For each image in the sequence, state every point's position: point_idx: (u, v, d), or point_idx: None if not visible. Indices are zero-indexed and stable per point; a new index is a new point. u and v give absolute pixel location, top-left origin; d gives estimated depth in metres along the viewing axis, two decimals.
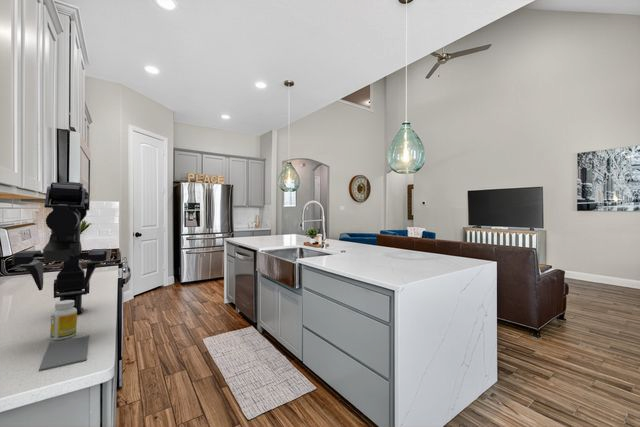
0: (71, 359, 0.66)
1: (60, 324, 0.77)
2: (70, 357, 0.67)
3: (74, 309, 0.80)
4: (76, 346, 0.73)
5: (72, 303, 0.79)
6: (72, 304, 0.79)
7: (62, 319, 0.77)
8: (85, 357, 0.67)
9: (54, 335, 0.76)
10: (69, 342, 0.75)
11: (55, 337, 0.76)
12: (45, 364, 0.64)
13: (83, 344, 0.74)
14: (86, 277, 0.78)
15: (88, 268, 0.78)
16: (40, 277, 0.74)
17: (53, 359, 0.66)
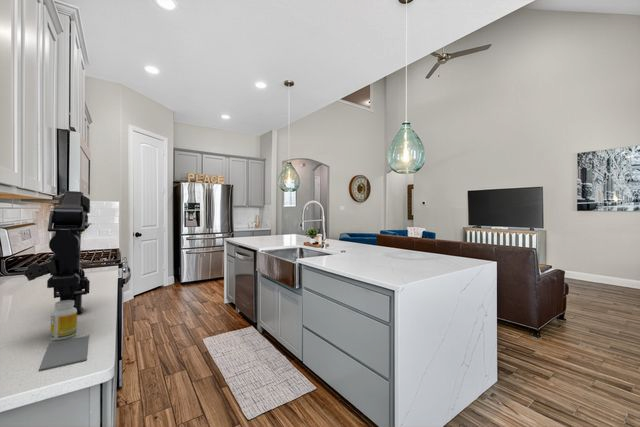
0: (71, 359, 0.66)
1: (60, 324, 0.77)
2: (70, 357, 0.67)
3: (74, 309, 0.80)
4: (76, 346, 0.73)
5: (72, 303, 0.79)
6: (72, 304, 0.79)
7: (62, 319, 0.77)
8: (85, 357, 0.67)
9: (54, 335, 0.76)
10: (69, 342, 0.75)
11: (55, 337, 0.76)
12: (45, 364, 0.64)
13: (83, 344, 0.74)
14: (60, 297, 0.81)
15: (58, 288, 0.80)
16: None
17: (53, 359, 0.66)
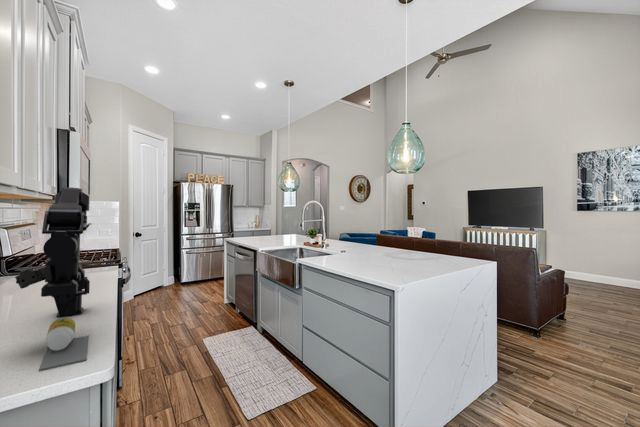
0: (71, 359, 0.66)
1: None
2: (70, 357, 0.67)
3: (71, 339, 0.72)
4: (76, 346, 0.73)
5: None
6: (68, 343, 0.71)
7: None
8: (85, 357, 0.67)
9: None
10: None
11: None
12: (45, 364, 0.64)
13: (83, 344, 0.74)
14: None
15: None
16: None
17: (53, 359, 0.66)
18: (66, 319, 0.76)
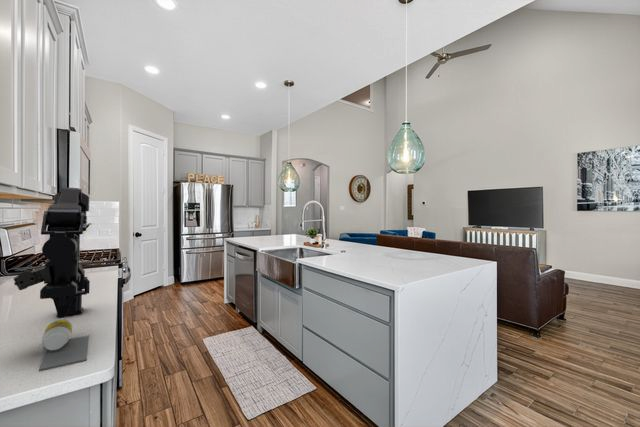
0: (71, 359, 0.66)
1: None
2: (70, 357, 0.67)
3: (68, 337, 0.72)
4: (76, 346, 0.73)
5: (65, 341, 0.71)
6: (66, 341, 0.71)
7: None
8: (85, 357, 0.67)
9: None
10: (69, 342, 0.75)
11: None
12: (45, 364, 0.64)
13: (83, 344, 0.74)
14: (56, 307, 0.72)
15: (53, 298, 0.71)
16: None
17: (53, 359, 0.66)
18: (59, 321, 0.75)
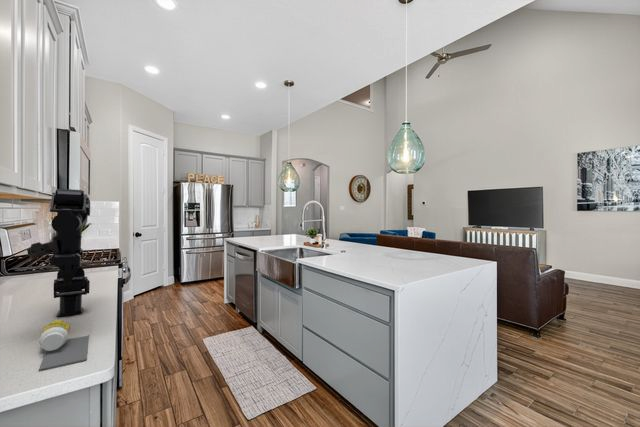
0: (71, 359, 0.66)
1: None
2: (70, 357, 0.67)
3: (65, 335, 0.72)
4: (76, 346, 0.73)
5: (63, 340, 0.70)
6: (63, 340, 0.71)
7: None
8: (85, 357, 0.67)
9: None
10: (69, 342, 0.75)
11: None
12: (45, 364, 0.64)
13: (83, 344, 0.74)
14: (62, 276, 0.83)
15: (60, 268, 0.82)
16: None
17: (53, 359, 0.66)
18: (54, 321, 0.75)
